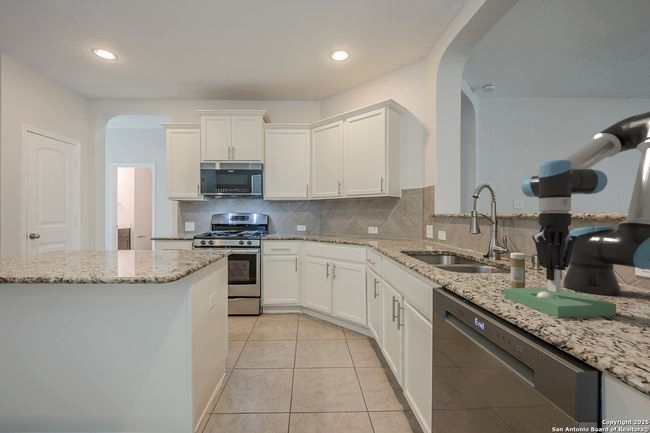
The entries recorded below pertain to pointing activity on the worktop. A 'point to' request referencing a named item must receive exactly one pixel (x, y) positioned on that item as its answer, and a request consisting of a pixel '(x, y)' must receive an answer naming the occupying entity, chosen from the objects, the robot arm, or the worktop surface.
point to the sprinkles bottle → (517, 270)
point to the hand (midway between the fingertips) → (553, 290)
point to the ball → (544, 295)
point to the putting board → (561, 302)
